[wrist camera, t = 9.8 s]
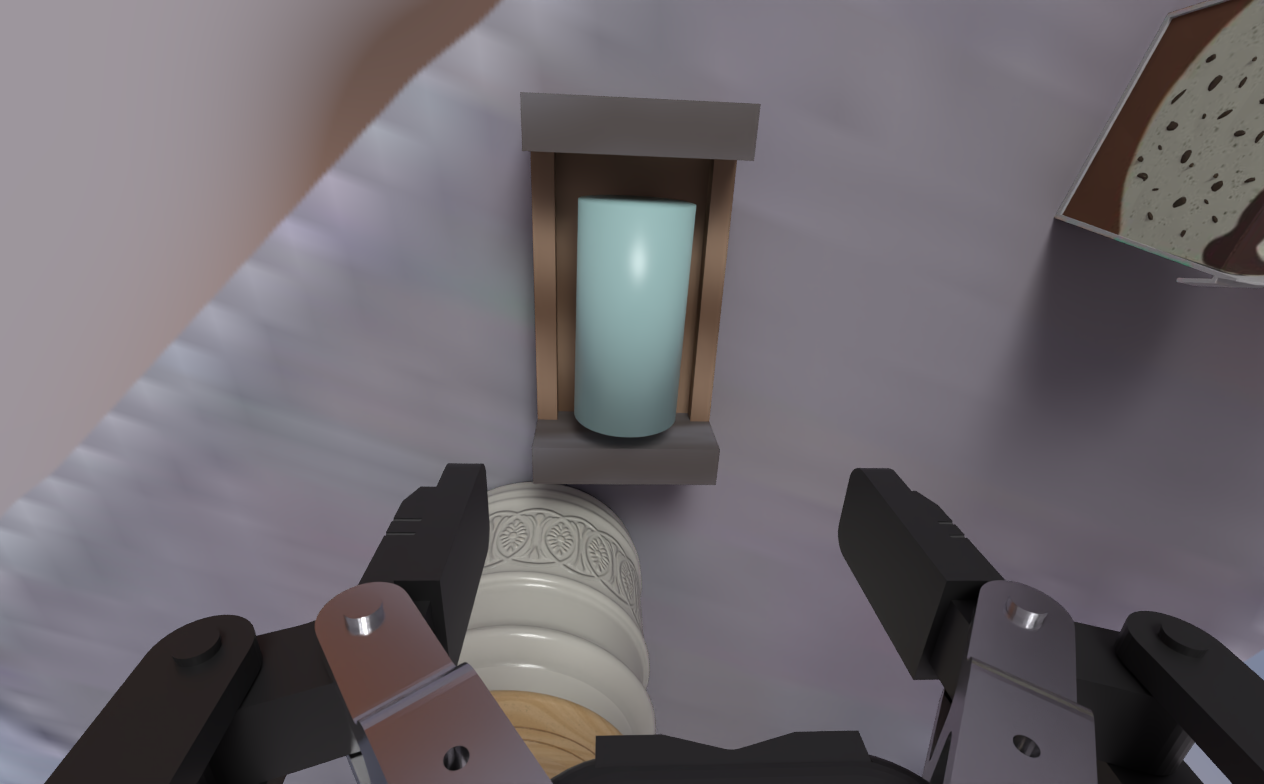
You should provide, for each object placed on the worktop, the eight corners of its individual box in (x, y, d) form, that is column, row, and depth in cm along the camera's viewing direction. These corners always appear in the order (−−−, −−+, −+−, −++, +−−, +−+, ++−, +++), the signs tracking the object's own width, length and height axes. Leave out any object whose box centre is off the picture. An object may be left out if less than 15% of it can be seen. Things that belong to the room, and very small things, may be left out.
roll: (553, 197, 24) (647, 212, 21) (629, 193, 28) (718, 205, 25) (552, 412, 28) (632, 448, 26) (619, 384, 32) (695, 413, 29)
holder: (534, 99, 26) (520, 92, 21) (730, 109, 27) (760, 104, 22) (542, 430, 33) (533, 483, 28) (698, 432, 34) (715, 484, 29)
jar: (394, 577, 37) (239, 918, 21) (512, 436, 33) (433, 718, 17) (558, 664, 41) (533, 1008, 25) (680, 546, 37) (743, 860, 21)
